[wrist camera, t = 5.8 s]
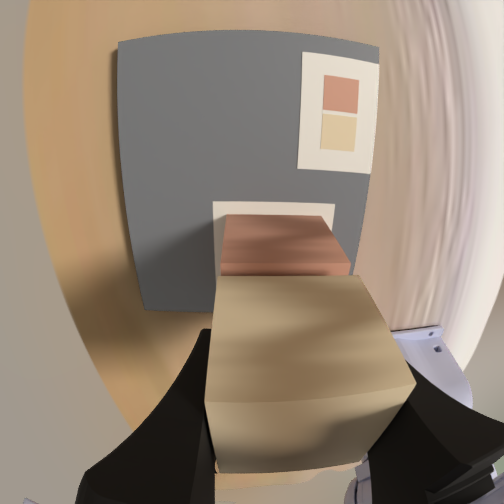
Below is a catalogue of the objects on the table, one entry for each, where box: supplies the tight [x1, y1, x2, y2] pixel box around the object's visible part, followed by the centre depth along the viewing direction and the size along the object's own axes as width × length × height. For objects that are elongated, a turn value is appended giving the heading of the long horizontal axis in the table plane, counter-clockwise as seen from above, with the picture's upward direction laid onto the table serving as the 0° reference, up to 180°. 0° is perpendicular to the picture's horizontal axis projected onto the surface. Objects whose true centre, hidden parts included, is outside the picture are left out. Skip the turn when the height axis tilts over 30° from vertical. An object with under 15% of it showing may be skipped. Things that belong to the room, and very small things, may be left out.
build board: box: [117, 30, 379, 312], centre depth 15 cm, size 13×16×1 cm
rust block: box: [220, 214, 351, 276], centre depth 14 cm, size 5×5×5 cm
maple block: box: [204, 275, 417, 473], centre depth 9 cm, size 5×5×5 cm
